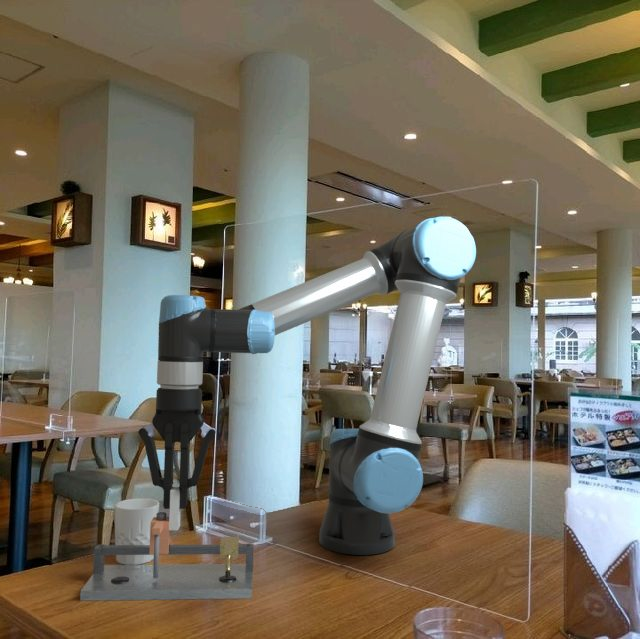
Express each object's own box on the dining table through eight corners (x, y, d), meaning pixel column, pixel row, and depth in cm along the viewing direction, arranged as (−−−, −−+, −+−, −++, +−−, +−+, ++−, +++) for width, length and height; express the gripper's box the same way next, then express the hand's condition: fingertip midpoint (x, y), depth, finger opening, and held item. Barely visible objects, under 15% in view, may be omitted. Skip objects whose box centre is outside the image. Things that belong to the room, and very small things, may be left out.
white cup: (145, 568, 109) (146, 510, 110) (104, 564, 111) (106, 507, 111) (165, 553, 117) (166, 500, 117) (126, 550, 119) (128, 497, 119)
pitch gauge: (252, 572, 108) (253, 534, 109) (251, 598, 97) (252, 555, 98) (99, 574, 106) (100, 534, 106) (80, 600, 95) (81, 556, 95)
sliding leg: (170, 565, 106) (172, 510, 106) (164, 579, 99) (165, 521, 100) (152, 565, 106) (154, 510, 106) (144, 580, 99) (146, 521, 99)
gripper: (220, 386, 110) (215, 521, 109) (144, 384, 109) (139, 521, 108) (216, 389, 102) (212, 534, 101) (135, 387, 101) (130, 534, 100)
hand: (174, 527), depth 104 cm, fingers closed
